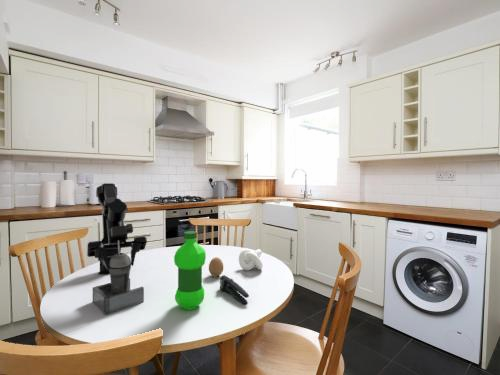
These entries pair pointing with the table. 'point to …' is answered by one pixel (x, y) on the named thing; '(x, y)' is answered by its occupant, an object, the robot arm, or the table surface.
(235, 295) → the can opener
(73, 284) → the table surface
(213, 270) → the egg
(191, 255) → the plastic bottle
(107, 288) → the box
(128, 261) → the beverage cup
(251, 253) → the white rounded lump
